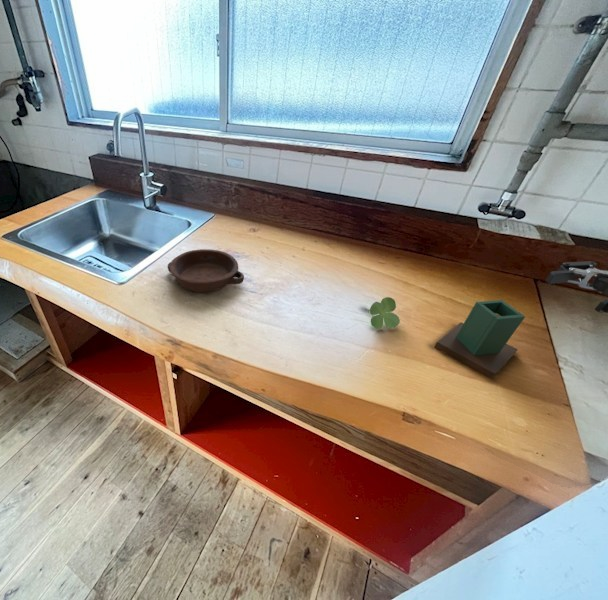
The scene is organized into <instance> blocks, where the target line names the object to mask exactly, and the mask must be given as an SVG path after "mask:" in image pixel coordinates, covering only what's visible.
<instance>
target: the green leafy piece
mask: <svg viewBox="0 0 608 600" xmlns="http://www.w3.org/2000/svg"><path fill="white" fill-rule="evenodd" d="M396 309H397V304H396V300H395V299H394V298H393V297H390V296H387V297H383V298H382V299H381V301H380V302H379V301H374V302H373V303H372V304H371V305H370V308H369V309H368V308H365V309H364V310H365V311H367V312H369V314H370V315H371V316H372V317H371V318H370V325H371V326H372V327H373V328H374V329H376V330H381V329H382V328H383V327H384V326H385V328H387V329H388V330H390V329H394V328H395V329H396V328H397V326H399V325H400V322H401V321H400V320H401V319H400V317H399V316H398V315H397V314H396V313H395V312H394V311H395V310H396Z"/></svg>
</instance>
